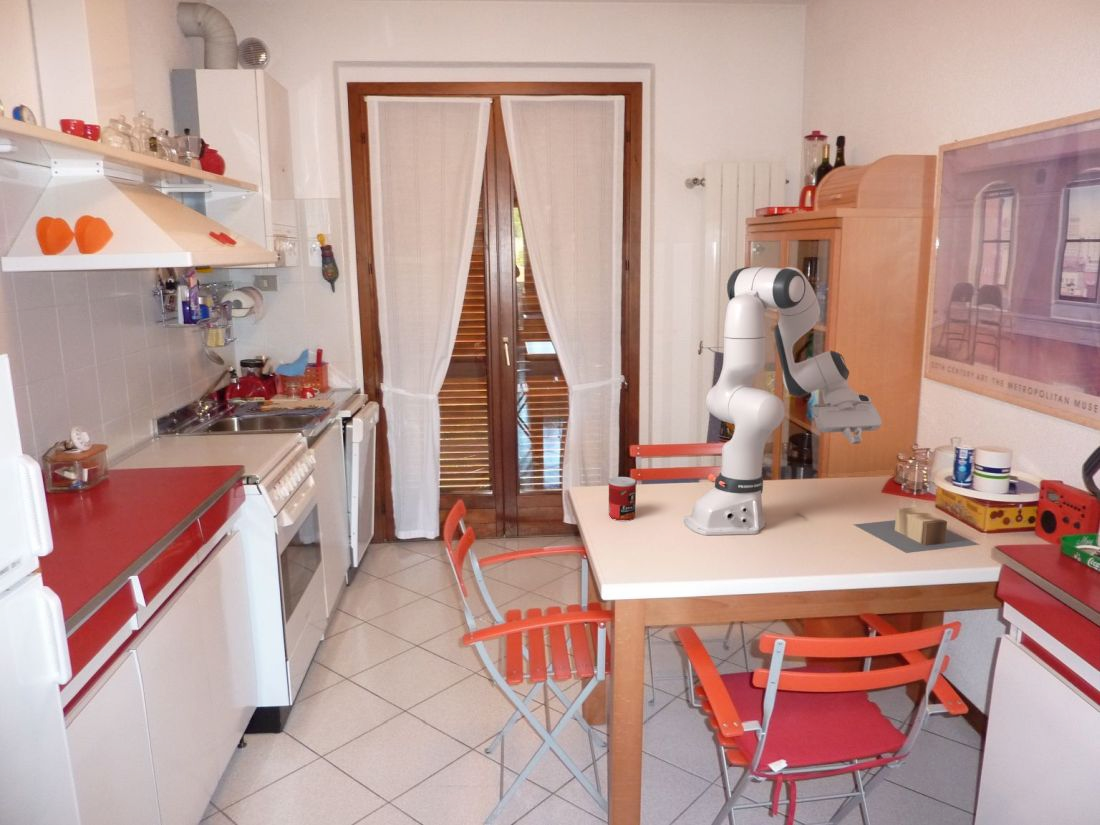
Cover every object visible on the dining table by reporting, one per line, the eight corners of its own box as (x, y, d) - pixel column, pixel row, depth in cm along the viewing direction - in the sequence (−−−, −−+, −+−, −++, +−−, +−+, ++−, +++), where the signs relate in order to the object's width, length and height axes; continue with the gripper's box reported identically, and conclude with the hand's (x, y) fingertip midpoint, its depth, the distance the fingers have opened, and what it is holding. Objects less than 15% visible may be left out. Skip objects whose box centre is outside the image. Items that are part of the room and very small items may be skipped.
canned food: (622, 523, 226) (623, 485, 224) (602, 516, 232) (603, 480, 230) (641, 517, 231) (641, 480, 229) (621, 510, 237) (621, 475, 235)
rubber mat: (906, 555, 202) (906, 552, 202) (852, 526, 223) (853, 524, 222) (979, 546, 207) (979, 544, 207) (920, 519, 228) (920, 517, 228)
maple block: (894, 530, 218) (925, 545, 206) (896, 509, 216) (927, 523, 205) (913, 528, 219) (944, 543, 208) (915, 507, 218) (947, 521, 207)
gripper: (814, 398, 238) (830, 438, 231) (875, 396, 243) (892, 436, 235) (805, 410, 243) (820, 449, 236) (864, 407, 248) (881, 446, 241)
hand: (856, 442), depth 236 cm, fingers closed
